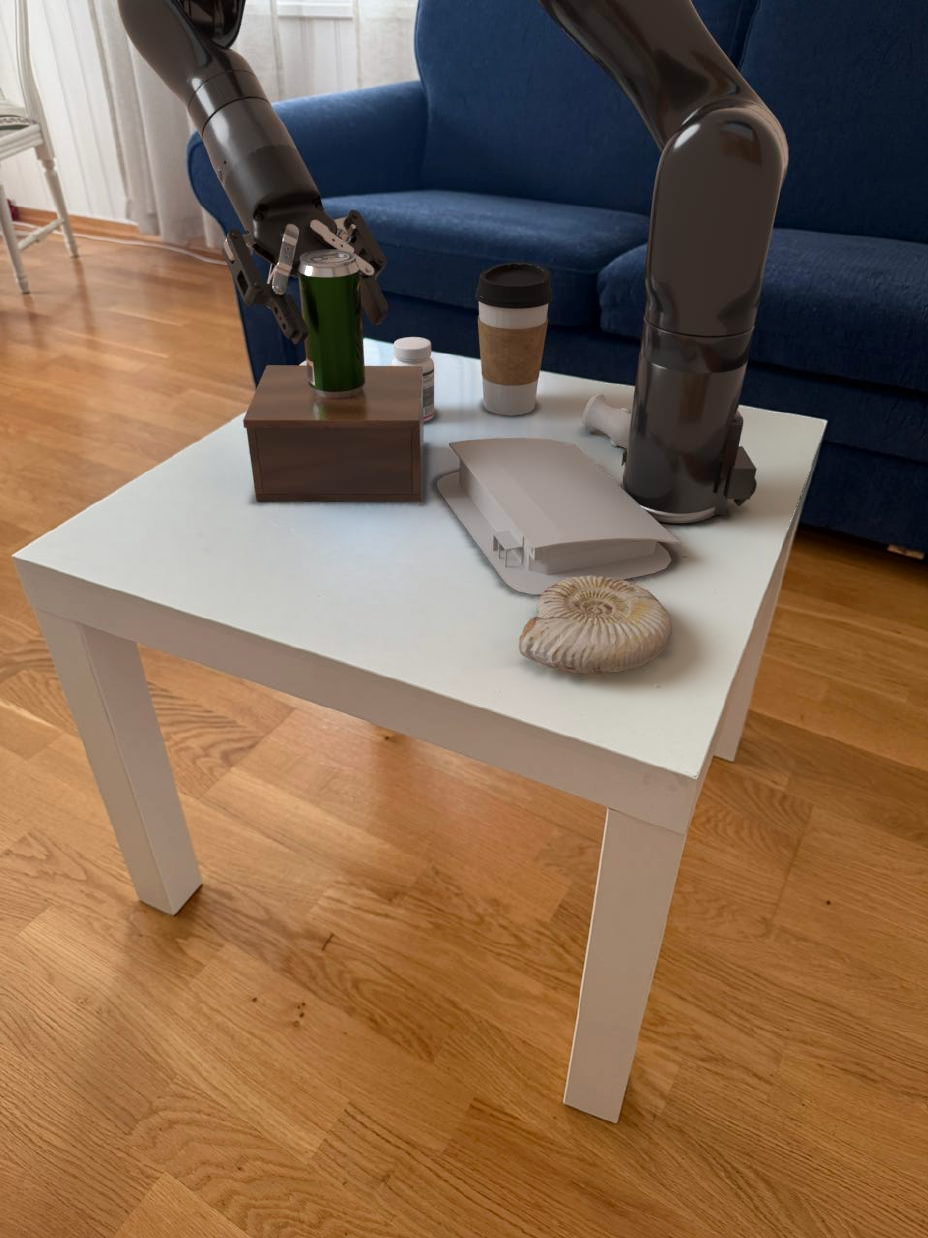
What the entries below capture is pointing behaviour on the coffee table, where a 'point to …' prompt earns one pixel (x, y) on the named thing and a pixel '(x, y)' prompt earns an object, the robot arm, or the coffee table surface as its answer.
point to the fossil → (596, 626)
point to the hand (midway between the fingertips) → (342, 329)
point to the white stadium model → (550, 514)
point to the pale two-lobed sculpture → (607, 420)
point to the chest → (337, 464)
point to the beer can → (332, 322)
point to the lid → (337, 400)
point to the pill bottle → (418, 354)
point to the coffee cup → (512, 334)
